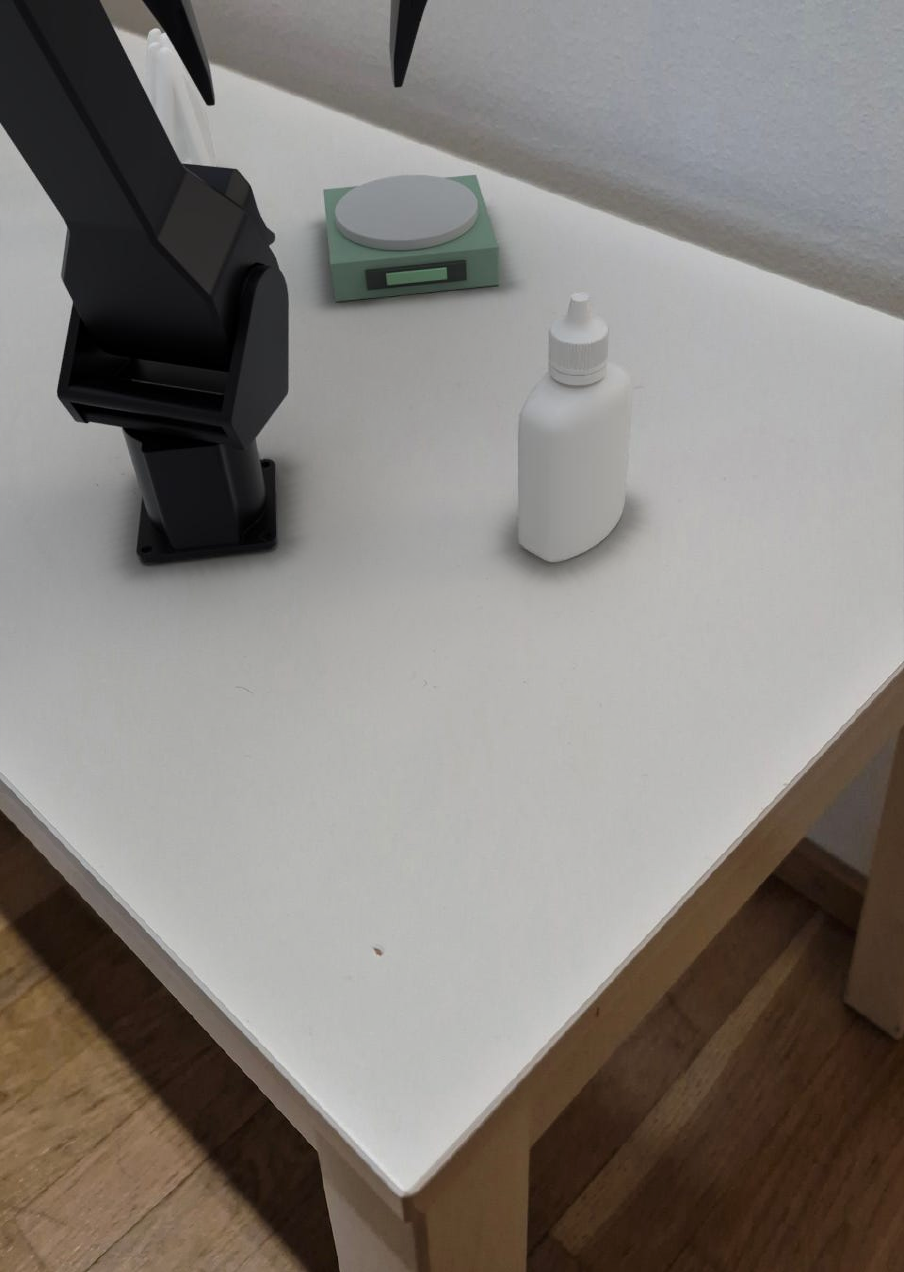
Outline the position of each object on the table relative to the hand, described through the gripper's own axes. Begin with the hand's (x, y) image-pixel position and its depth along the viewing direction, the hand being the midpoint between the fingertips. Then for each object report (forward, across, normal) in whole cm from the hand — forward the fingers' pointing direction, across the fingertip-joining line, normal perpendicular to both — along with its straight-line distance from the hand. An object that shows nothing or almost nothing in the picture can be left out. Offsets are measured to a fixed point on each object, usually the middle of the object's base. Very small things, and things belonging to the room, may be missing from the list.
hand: (304, 93), depth 57 cm
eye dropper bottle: (+14, -10, +19) cm, 26 cm away
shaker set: (+14, +8, -20) cm, 25 cm away
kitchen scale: (+14, -6, -9) cm, 17 cm away
